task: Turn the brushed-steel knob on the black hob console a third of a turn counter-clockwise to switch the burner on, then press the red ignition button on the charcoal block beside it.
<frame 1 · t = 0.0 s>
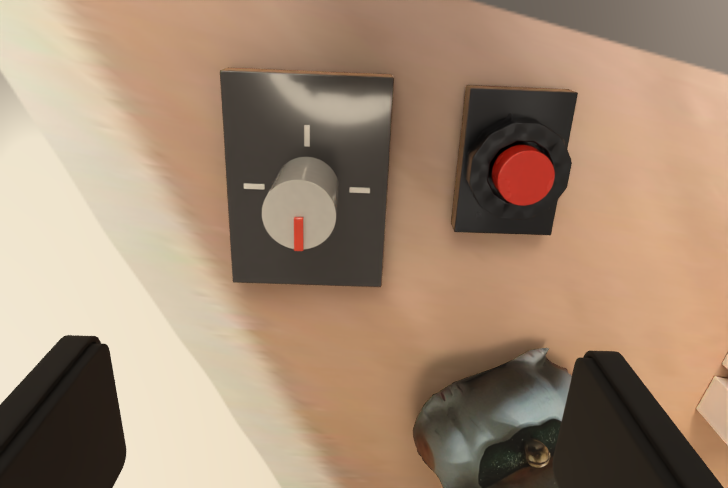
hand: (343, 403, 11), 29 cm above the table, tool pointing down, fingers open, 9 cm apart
lucky cat figurine: (504, 406, 47), on the table
hob knob: (303, 201, 34), point 5 cm above the table, hinge at 0.0°
hob console: (309, 179, 39), on the table
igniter: (506, 159, 38), on the table
ignition button: (522, 175, 35), point 4 cm above the table, slide at 0.1 cm
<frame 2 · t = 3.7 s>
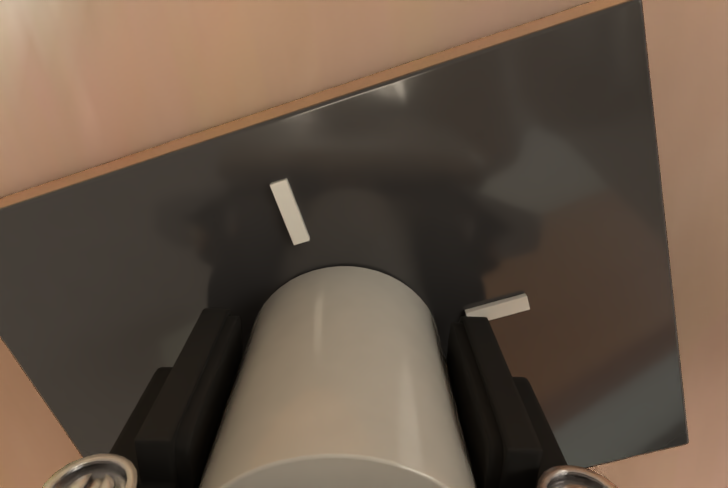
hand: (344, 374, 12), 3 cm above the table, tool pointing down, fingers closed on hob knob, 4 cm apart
hob knob: (341, 441, 10), point 5 cm above the table, hinge at -0.2°, touching gripper
hob console: (347, 306, 14), on the table
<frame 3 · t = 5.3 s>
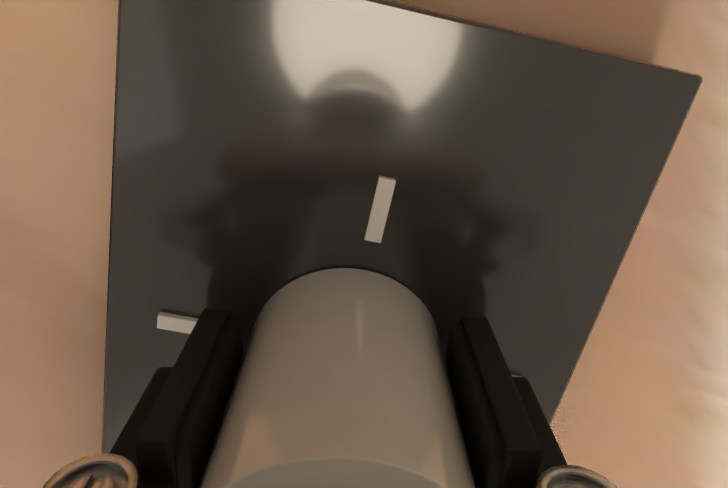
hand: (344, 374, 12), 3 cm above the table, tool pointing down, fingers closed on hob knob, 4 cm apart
hob knob: (341, 442, 10), point 5 cm above the table, hinge at 120.2°, touching gripper
hob console: (347, 308, 15), on the table
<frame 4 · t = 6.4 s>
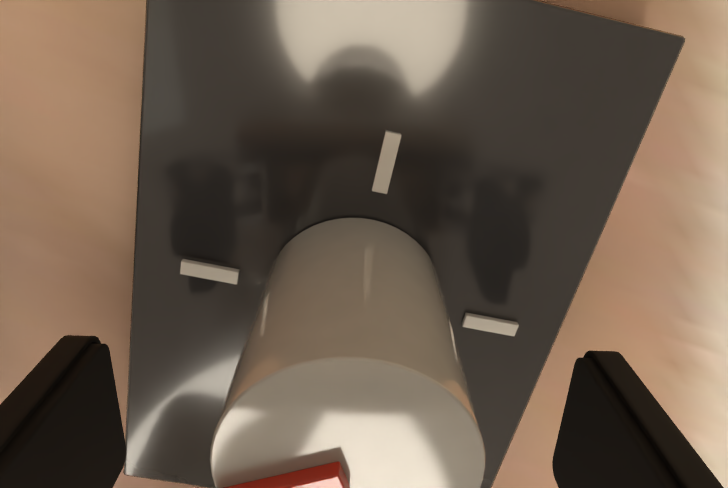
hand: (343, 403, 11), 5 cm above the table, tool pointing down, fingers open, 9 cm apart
hob knob: (351, 369, 11), point 5 cm above the table, hinge at 119.2°
hob console: (354, 262, 16), on the table
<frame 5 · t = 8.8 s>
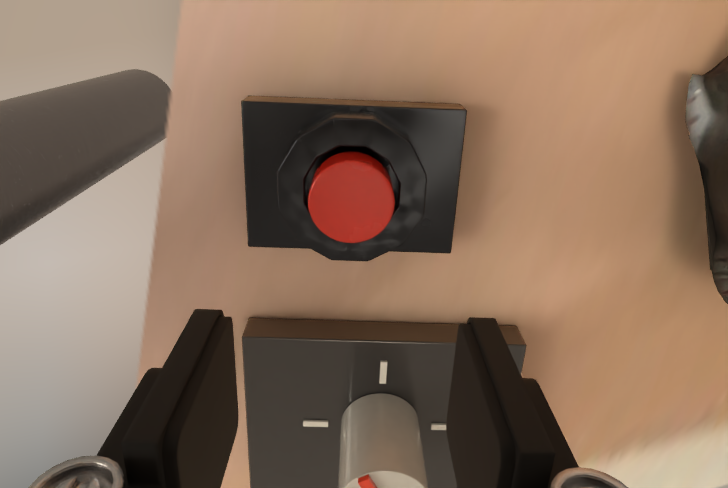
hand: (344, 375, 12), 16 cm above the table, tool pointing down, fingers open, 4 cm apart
hob knob: (381, 464, 28), point 5 cm above the table, hinge at 119.2°
hob console: (378, 400, 32), on the table
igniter: (352, 171, 27), on the table
ignition button: (351, 197, 23), point 4 cm above the table, slide at 0.1 cm
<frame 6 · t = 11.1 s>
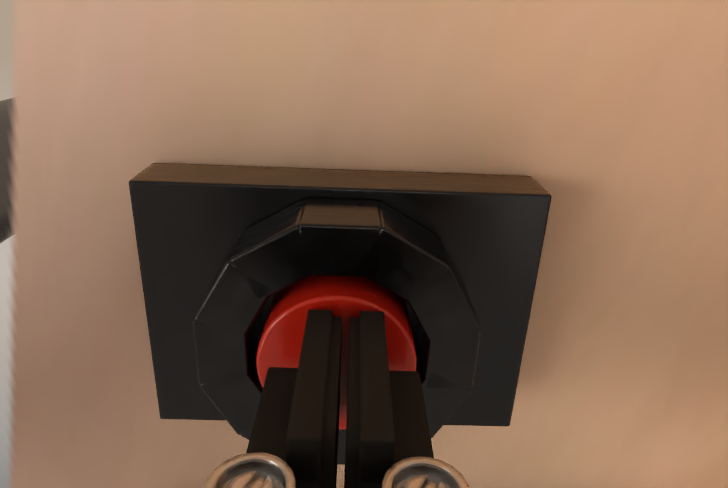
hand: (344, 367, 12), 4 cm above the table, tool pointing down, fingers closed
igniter: (340, 286, 16), on the table
ignition button: (337, 346, 13), point 3 cm above the table, slide at -0.9 cm, touching gripper
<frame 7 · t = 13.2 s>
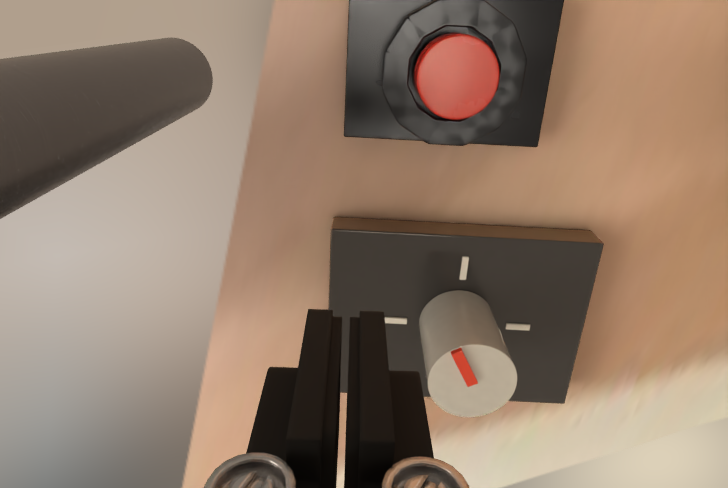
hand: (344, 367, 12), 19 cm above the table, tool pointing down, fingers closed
hob knob: (464, 351, 29), point 5 cm above the table, hinge at 119.2°
hob console: (451, 305, 34), on the table
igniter: (444, 67, 28), on the table
ignition button: (455, 76, 24), point 4 cm above the table, slide at 0.1 cm
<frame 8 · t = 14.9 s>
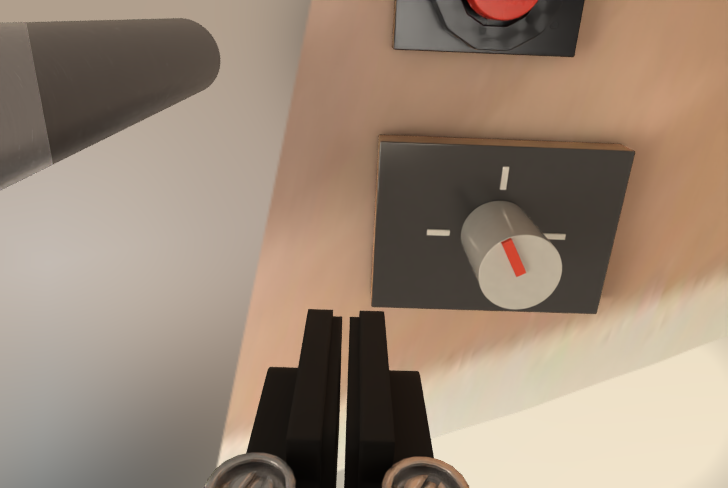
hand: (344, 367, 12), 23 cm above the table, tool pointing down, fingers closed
hob knob: (507, 253, 31), point 5 cm above the table, hinge at 119.2°
hob console: (488, 222, 35), on the table
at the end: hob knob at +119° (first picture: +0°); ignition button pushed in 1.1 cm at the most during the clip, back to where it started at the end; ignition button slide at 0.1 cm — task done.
